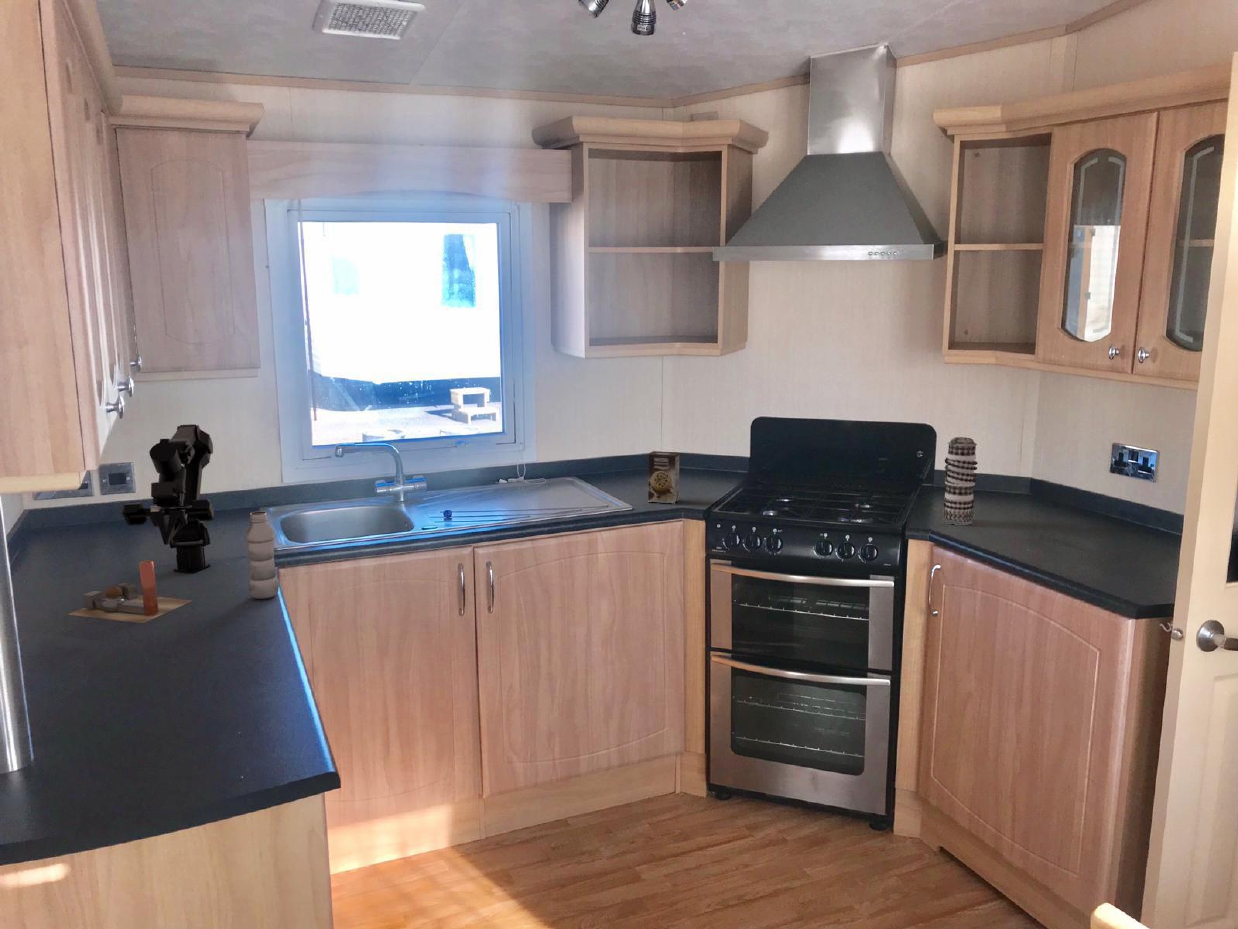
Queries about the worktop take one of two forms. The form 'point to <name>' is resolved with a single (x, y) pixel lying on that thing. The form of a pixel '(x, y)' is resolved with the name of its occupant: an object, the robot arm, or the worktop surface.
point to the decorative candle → (960, 479)
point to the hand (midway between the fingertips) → (165, 543)
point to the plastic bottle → (261, 557)
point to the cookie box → (663, 477)
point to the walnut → (113, 592)
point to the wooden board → (130, 595)
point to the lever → (119, 604)
